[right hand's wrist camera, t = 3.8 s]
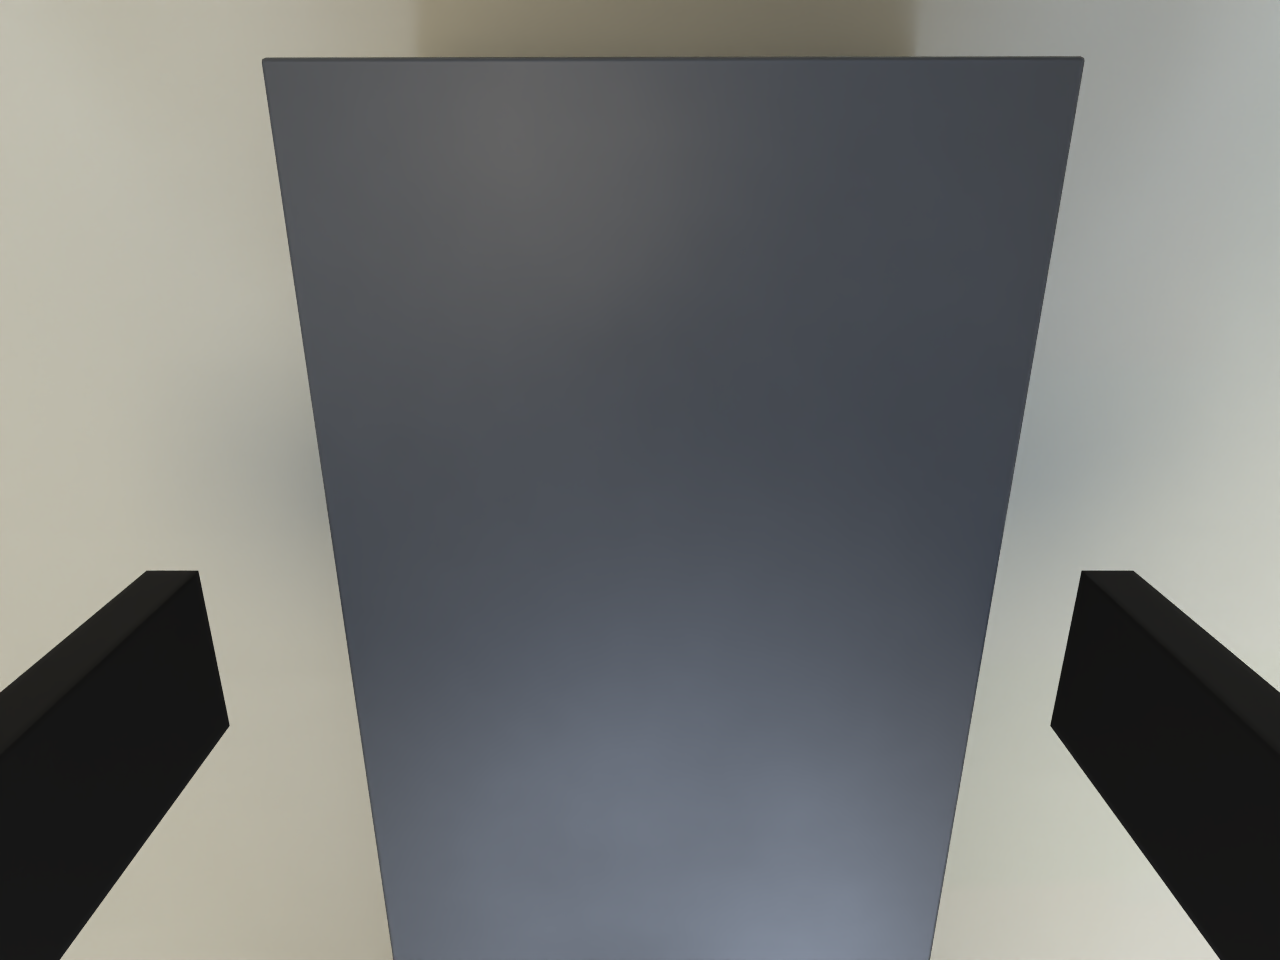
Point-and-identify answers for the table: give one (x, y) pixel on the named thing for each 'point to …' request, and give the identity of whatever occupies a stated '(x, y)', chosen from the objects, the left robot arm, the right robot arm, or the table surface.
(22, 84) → the table surface
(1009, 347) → the wide beam
